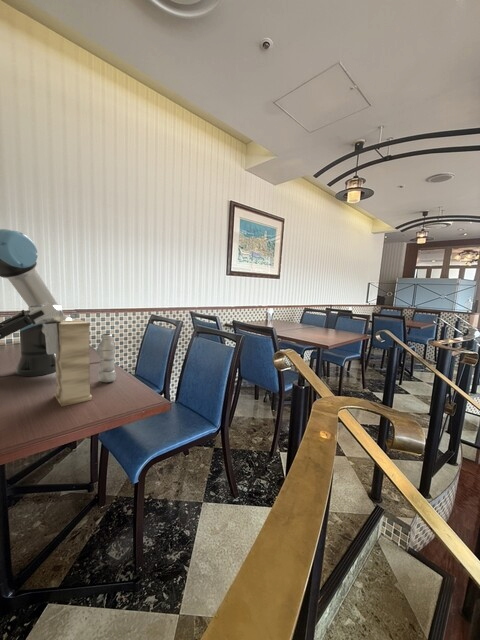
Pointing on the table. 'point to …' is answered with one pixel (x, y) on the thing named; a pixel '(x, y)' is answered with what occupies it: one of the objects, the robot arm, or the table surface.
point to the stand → (73, 362)
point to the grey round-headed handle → (49, 326)
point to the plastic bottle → (106, 359)
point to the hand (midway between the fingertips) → (51, 305)
